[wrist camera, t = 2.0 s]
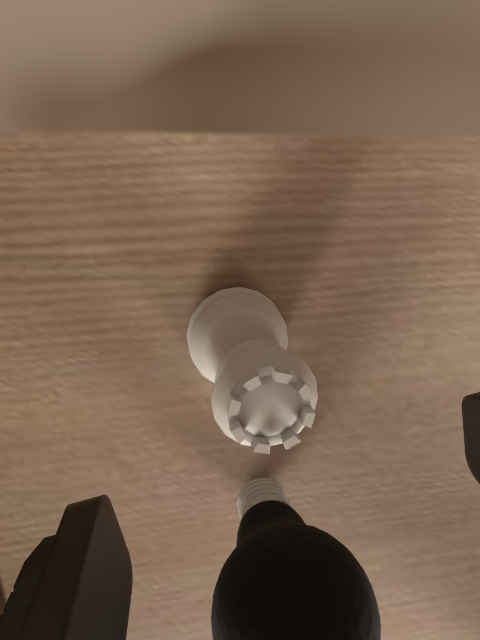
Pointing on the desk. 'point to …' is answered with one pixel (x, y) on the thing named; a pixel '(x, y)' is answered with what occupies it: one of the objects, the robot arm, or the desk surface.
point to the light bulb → (289, 578)
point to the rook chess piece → (251, 369)
